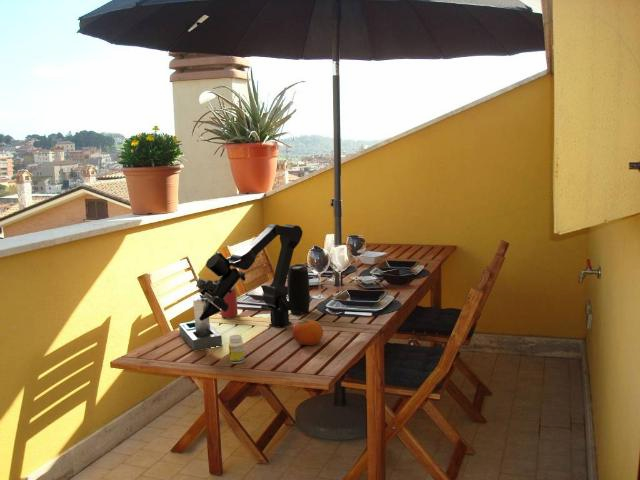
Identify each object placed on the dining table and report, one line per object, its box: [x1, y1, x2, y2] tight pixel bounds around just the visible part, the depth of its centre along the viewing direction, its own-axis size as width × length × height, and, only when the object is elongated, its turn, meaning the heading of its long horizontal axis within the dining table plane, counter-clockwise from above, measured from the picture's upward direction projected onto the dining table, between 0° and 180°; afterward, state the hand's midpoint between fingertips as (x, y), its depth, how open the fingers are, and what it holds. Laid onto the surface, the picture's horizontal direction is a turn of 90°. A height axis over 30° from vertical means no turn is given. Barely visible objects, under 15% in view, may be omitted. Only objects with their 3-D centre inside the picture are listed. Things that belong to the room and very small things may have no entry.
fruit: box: [292, 319, 324, 346], centre depth 219 cm, size 11×10×8 cm
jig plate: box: [178, 320, 223, 351], centre depth 228 cm, size 22×10×4 cm, turn 25°
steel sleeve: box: [192, 297, 211, 337], centre depth 222 cm, size 5×5×13 cm
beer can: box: [220, 286, 239, 319], centre depth 256 cm, size 7×7×12 cm
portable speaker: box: [286, 263, 311, 316], centre depth 257 cm, size 9×9×20 cm
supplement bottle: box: [228, 334, 245, 364], centre depth 205 cm, size 5×5×8 cm
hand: (198, 318), depth 222 cm, fingers closed on steel sleeve, 5 cm apart
